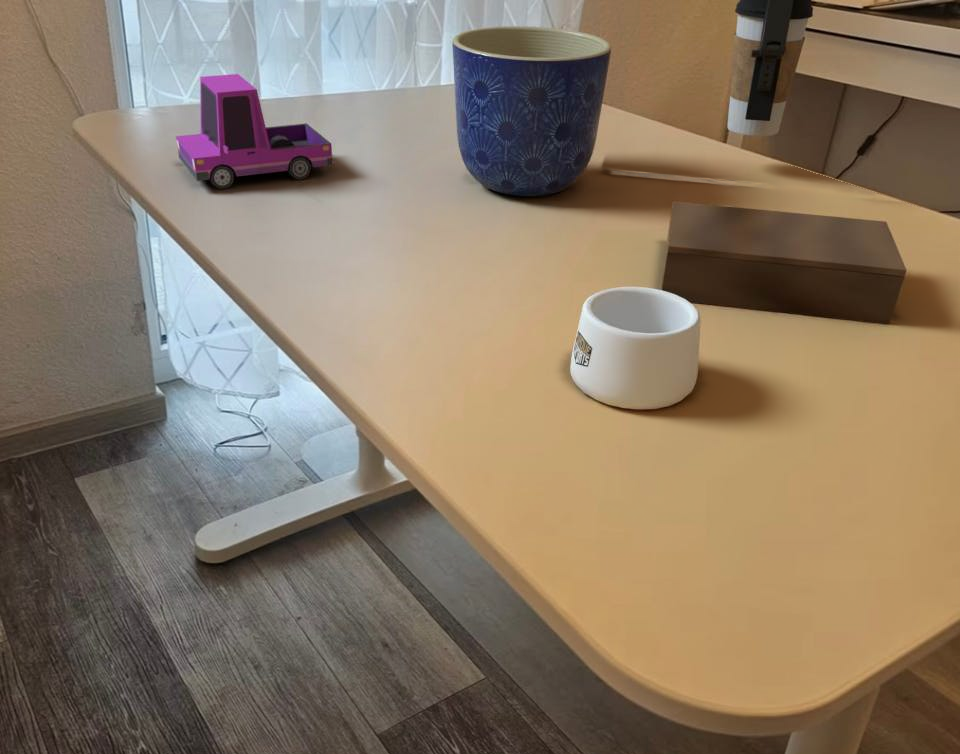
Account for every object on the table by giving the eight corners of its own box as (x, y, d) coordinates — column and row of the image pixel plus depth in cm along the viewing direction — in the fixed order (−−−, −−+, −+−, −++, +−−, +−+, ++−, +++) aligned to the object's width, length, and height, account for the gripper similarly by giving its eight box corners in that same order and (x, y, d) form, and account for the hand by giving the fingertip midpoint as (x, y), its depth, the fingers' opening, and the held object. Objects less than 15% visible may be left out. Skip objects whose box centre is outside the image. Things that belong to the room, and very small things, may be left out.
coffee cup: (710, 134, 110) (732, -12, 101) (723, 117, 117) (746, -22, 108) (783, 143, 108) (813, -6, 99) (793, 125, 114) (822, -16, 105)
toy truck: (179, 167, 112) (164, 75, 106) (306, 152, 117) (299, 65, 111) (201, 195, 104) (187, 99, 98) (336, 179, 110) (330, 87, 104)
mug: (716, 406, 71) (731, 332, 67) (595, 420, 69) (604, 345, 65) (651, 334, 80) (662, 266, 76) (543, 345, 78) (548, 276, 74)
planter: (621, 202, 106) (639, 55, 97) (478, 216, 102) (483, 62, 92) (562, 157, 119) (572, 23, 110) (432, 167, 114) (432, 28, 105)
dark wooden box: (871, 271, 93) (886, 221, 90) (889, 324, 83) (907, 270, 80) (665, 250, 95) (672, 201, 92) (660, 299, 86) (668, 245, 83)
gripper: (757, -130, 106) (722, 88, 120) (765, -120, 90) (724, 131, 103) (826, -128, 105) (783, 92, 118) (847, -118, 89) (795, 136, 102)
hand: (756, 110), depth 111 cm, fingers closed on coffee cup, 8 cm apart
